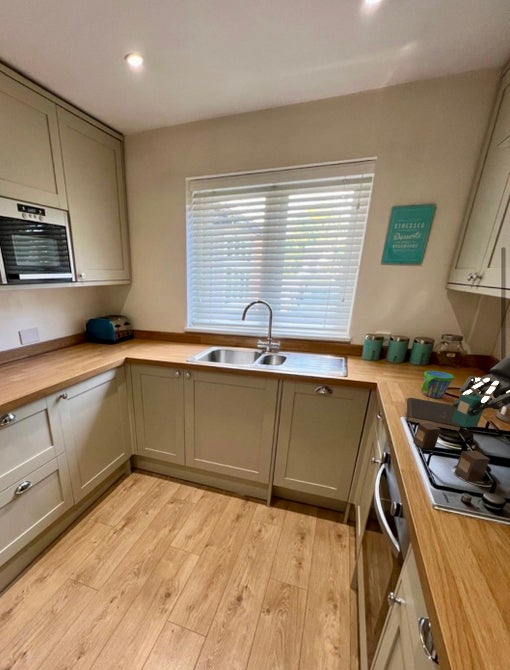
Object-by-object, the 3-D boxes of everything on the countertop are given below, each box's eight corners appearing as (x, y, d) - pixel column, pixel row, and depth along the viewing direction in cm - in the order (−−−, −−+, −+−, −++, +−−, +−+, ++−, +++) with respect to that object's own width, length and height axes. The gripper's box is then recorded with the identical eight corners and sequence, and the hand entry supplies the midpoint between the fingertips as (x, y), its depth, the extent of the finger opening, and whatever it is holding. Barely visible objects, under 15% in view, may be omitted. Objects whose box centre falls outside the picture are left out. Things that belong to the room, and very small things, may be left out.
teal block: (464, 420, 93) (473, 394, 91) (477, 426, 90) (487, 399, 87) (451, 420, 93) (460, 394, 90) (463, 427, 89) (473, 399, 86)
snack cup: (430, 401, 140) (437, 379, 136) (409, 393, 149) (414, 371, 145) (456, 398, 145) (464, 376, 141) (434, 390, 154) (440, 369, 150)
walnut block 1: (424, 446, 103) (431, 423, 100) (433, 452, 100) (440, 429, 97) (411, 446, 103) (418, 423, 100) (420, 453, 99) (427, 429, 96)
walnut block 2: (466, 476, 88) (476, 450, 85) (479, 485, 84) (490, 459, 82) (452, 477, 88) (461, 451, 85) (464, 486, 84) (474, 459, 81)
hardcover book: (452, 410, 131) (454, 405, 131) (460, 432, 113) (462, 426, 112) (406, 402, 139) (408, 397, 138) (406, 421, 120) (407, 415, 120)
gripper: (552, 385, 81) (491, 431, 84) (498, 369, 95) (447, 409, 98) (542, 364, 79) (480, 412, 82) (487, 351, 92) (435, 392, 95)
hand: (462, 410), depth 90 cm, fingers closed on teal block, 4 cm apart
